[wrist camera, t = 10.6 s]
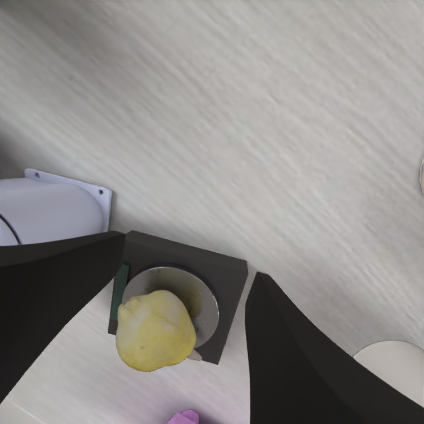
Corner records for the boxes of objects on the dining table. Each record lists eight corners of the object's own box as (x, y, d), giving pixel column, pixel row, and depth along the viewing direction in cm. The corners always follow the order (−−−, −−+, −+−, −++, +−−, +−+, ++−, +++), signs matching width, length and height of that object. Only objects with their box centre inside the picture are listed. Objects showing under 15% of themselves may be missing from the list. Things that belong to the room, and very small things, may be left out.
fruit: (181, 361, 21) (104, 309, 19) (219, 319, 22) (149, 263, 19) (185, 424, 16) (77, 364, 13) (237, 367, 16) (141, 297, 13)
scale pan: (120, 330, 22) (116, 336, 21) (132, 251, 19) (128, 255, 19) (207, 355, 22) (206, 362, 21) (230, 278, 19) (230, 283, 18)
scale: (119, 316, 25) (105, 335, 22) (131, 229, 22) (117, 239, 19) (219, 345, 24) (217, 367, 22) (246, 260, 21) (248, 275, 19)
